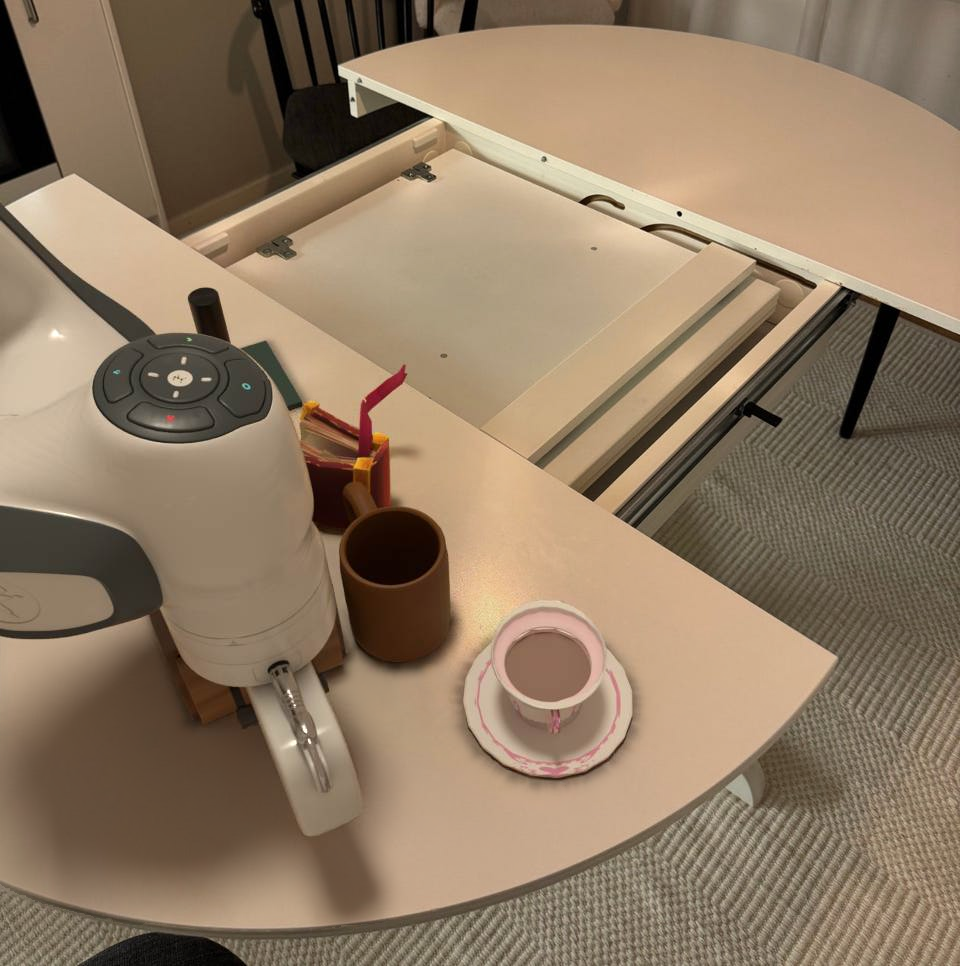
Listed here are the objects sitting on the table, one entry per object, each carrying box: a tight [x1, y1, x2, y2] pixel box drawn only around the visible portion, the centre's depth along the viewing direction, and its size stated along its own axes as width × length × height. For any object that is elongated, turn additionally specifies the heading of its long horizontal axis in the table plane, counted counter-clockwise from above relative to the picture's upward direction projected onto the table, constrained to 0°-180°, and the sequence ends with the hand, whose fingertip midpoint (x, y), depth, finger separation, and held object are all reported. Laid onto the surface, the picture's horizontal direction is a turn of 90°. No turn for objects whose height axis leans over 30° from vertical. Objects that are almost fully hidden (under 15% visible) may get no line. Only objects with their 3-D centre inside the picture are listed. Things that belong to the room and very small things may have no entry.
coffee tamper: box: [187, 286, 232, 344], centre depth 86 cm, size 7×7×10 cm
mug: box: [338, 482, 452, 663], centre depth 70 cm, size 12×8×9 cm, turn 28°
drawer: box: [176, 622, 345, 731], centre depth 68 cm, size 20×10×7 cm, turn 28°
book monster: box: [299, 363, 408, 531], centre depth 78 cm, size 11×9×12 cm
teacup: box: [462, 599, 633, 779], centre depth 66 cm, size 12×12×6 cm
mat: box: [239, 339, 304, 411], centre depth 90 cm, size 11×10×1 cm
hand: (291, 726), depth 62 cm, fingers closed
